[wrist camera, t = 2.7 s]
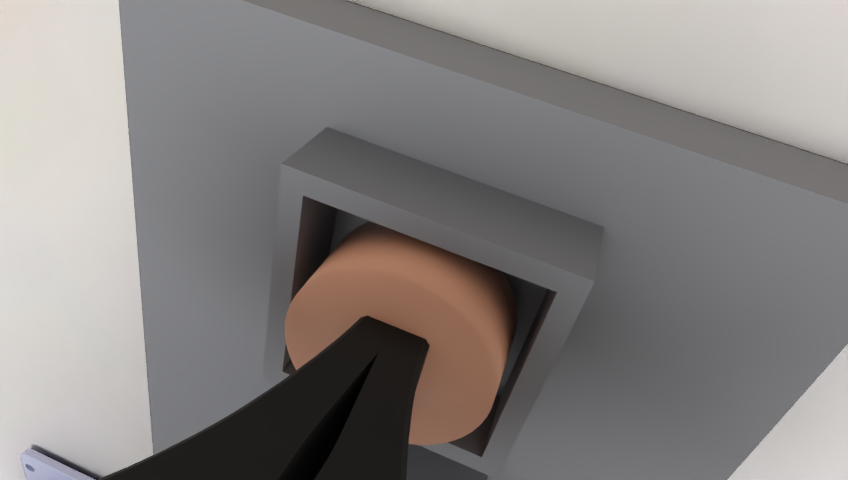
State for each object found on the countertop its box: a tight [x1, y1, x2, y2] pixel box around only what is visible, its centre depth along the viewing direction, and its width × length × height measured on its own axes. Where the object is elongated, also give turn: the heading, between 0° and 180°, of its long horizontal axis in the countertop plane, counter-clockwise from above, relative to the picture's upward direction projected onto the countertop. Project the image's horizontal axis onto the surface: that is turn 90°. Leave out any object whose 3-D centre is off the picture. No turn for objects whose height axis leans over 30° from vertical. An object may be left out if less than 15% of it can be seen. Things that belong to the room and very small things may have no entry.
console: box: [119, 0, 848, 480], centre depth 19 cm, size 26×16×4 cm, turn 167°
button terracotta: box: [285, 221, 517, 445], centre depth 13 cm, size 4×4×2 cm
